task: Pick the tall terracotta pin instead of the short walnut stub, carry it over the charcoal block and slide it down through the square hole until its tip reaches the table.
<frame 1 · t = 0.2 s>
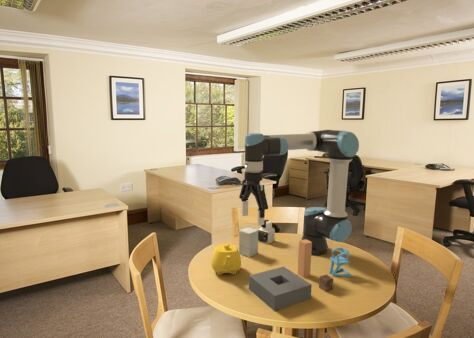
hand: (252, 220, 146), 28 cm above the table, tool pointing down, fingers open, 13 cm apart
supplement box: (248, 253, 180), on the table
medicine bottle: (265, 241, 197), on the table
tall pin: (303, 274, 157), on the table
short pin: (325, 288, 145), on the table
teapot: (226, 272, 159), on the table
chair: (338, 274, 159), on the table
hole block: (279, 293, 140), on the table
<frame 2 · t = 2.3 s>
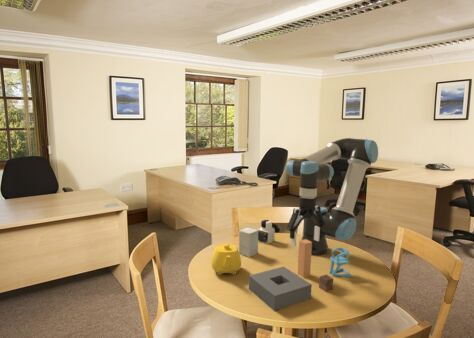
hand: (305, 242, 154), 15 cm above the table, tool pointing down, fingers open, 13 cm apart
nothing on the table moved.
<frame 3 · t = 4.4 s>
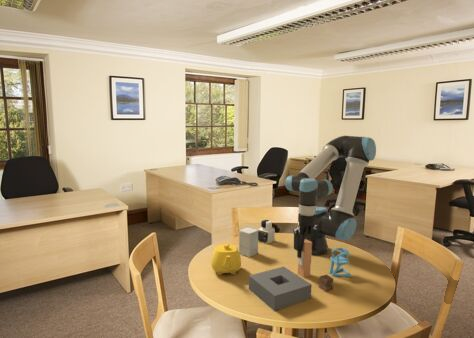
hand: (304, 262, 156), 6 cm above the table, tool pointing down, fingers closed on tall pin, 4 cm apart
tall pin: (303, 274, 157), on the table, touching gripper
everything else where it was.
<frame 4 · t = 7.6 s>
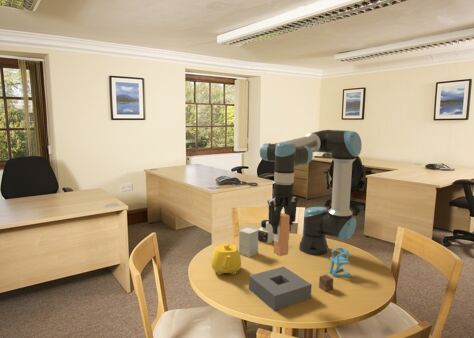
hand: (281, 240, 137), 23 cm above the table, tool pointing down, fingers closed on tall pin, 4 cm apart
tall pin: (280, 253, 138), point 17 cm above the table, touching gripper
everything else where it was.
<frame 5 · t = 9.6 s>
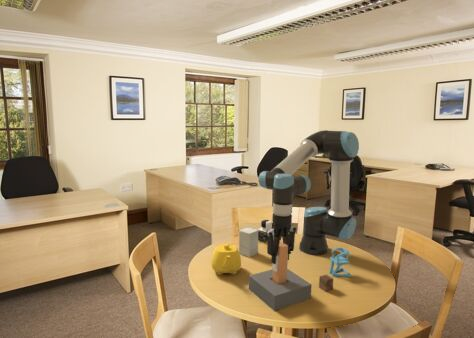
hand: (279, 269, 139), 11 cm above the table, tool pointing down, fingers closed on tall pin, 4 cm apart
tall pin: (279, 282, 139), point 5 cm above the table, touching gripper
everything else where it was.
when the fingers open (8 cm above the table, at t = 11.2 s): tall pin drops 2 cm, resting in hole block.
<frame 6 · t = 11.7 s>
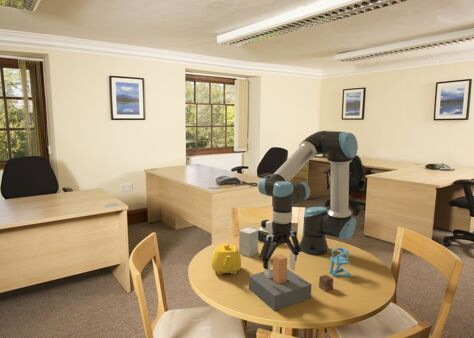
hand: (279, 272, 139), 9 cm above the table, tool pointing down, fingers open, 12 cm apart
tall pin: (279, 293, 140), resting in hole block
everything else where it was.
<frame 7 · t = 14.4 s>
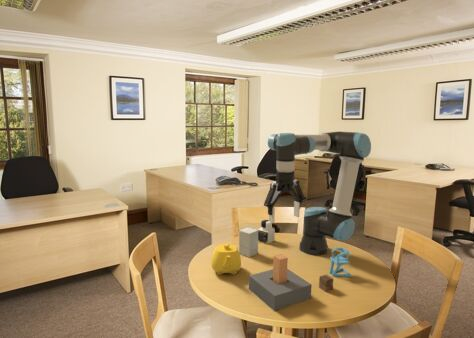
hand: (284, 219, 147), 28 cm above the table, tool pointing down, fingers open, 13 cm apart
nothing on the table moved.
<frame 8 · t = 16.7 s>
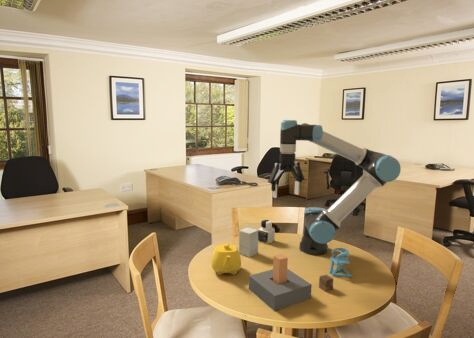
hand: (285, 195, 168), 33 cm above the table, tool pointing down, fingers open, 13 cm apart
nothing on the table moved.
at the end: tall pin 0.1 cm off-centre on the hole block, point 0.0 cm above the hole block's base; tall pin tilted 0°; short pin moved 0.1 cm from its start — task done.
